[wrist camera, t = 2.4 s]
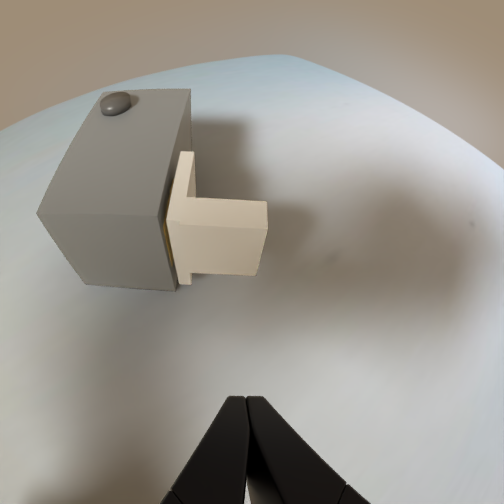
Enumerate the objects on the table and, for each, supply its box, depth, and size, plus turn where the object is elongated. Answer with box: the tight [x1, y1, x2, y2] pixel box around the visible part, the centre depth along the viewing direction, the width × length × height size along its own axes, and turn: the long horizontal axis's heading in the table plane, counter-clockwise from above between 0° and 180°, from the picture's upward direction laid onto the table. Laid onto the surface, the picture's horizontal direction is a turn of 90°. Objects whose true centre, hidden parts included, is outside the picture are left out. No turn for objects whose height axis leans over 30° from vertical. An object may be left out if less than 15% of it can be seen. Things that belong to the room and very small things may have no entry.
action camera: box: [36, 89, 192, 291], centre depth 21 cm, size 14×7×9 cm, turn 0°
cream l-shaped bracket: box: [166, 151, 268, 285], centre depth 19 cm, size 6×5×8 cm
